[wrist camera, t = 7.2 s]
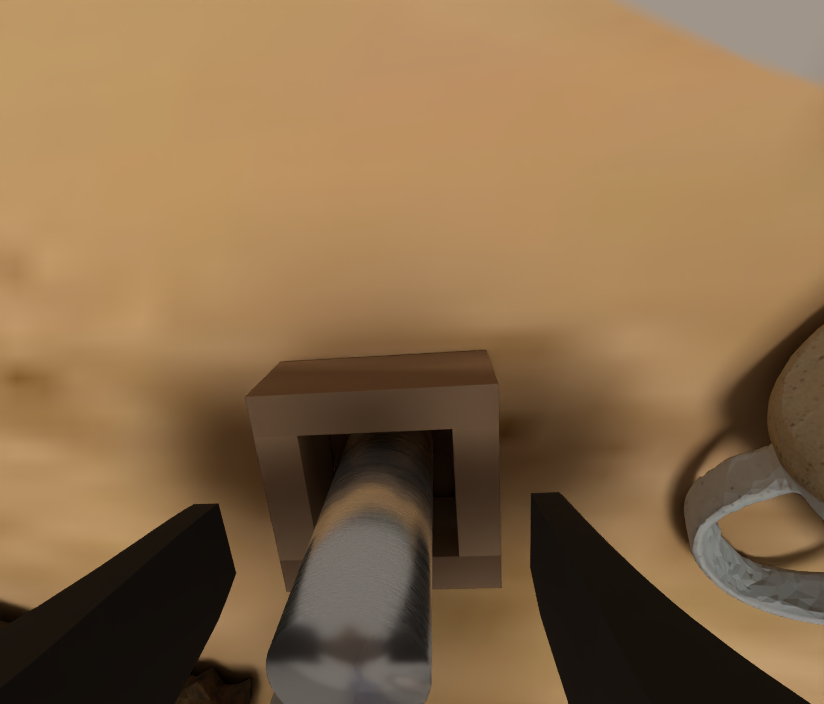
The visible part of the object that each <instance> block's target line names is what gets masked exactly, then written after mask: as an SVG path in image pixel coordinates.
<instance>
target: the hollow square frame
mask: <svg viewBox="0 0 824 704" xmlns="http://www.w3.org/2000/svg"><path fill="white" fill-rule="evenodd" d="M245 400H246V405H247V410H248V414H249V419H250V424H251V428H252V433H253V438H254V442H255V447H256V451H257V456H258V461H259V465H260V470H261V475H262V479H263V484H264V489H265V493H266V498H267V503H268V507H269V512H270V517H271V521H272V526H273V530H274V535H275V540H276V544H277V549H278V554H279V558H280V563H281V568H282V572H283V577H284V582H285V586H286V591H287V592H291V590H292V587H293V585H294V582H295V579H296V577H297V574H298V571H299V569H300V566H301V564H302V561H303V558H304V556H305V553H306V550H307V548H308V545H309V542H310V540H311V537H312V534H313V532H314V529H315V526H316V524H317V521H318V519H319V516H320V513H321V511H322V508H323V505H324V503H325V500H326V497H327V495H328V492H329V489H330V487H331V484H332V482H333V479H334V476H335V473H334V467H333V460H332V454H331V447H330V441H329V434H349V433H372V432H394V431H417V430H439V429H451V430H452V449H453V467H454V485H455V497H440V498H433V528H432V589H469V588H502V581H501V520H500V459H499V398H498V382H497V379H496V376H495V374H494V371H493V368H492V365H491V363H490V360H489V357H488V354H487V351H486V350H480V351H463V352H445V353H428V354H410V355H393V356H375V357H358V358H341V359H323V360H306V361H288V362H280V363H279V364H278V365H277V366H276V367H275V368H274V369H273V370H272V371H271V372H270V373H269V374H268V375H267V376H266V377H265V378H264V379H263V380H262V381H260V382H259V383H258V384H257V385H256V386H255V387H254V388H253V389H252V390H251V391H250V392H249V393H248V394H247V395H246V396H245Z"/></svg>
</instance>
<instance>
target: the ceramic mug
mask: <svg viewBox="0 0 824 704" xmlns="http://www.w3.org/2000/svg"><path fill="white" fill-rule="evenodd" d="M767 427H768V433H769V437H770V440H771V442H772V443H771V444H770V445H769V446H764V447H762V448H760V449H758V450H754V451H747V452H745V453H742V454H739V455H736V456H733V457H730V458H728V459H726V460H724V461H723V462H721V463H720V464H719V465H717V466H716V467H715V468H713V469H711V470H709V471H708V472H707V473H706V474H705V475H704V476H703V477H699V478H698V479H697V480H696V481H695V482H694V484H693V485H692V487H691V488H690V489H689V491H688V493H687V495H686V497H685V503H684V517H685V523H686V529H687V533H688V538H689V544H690V550H691V552H692V554H693V556H694V559H695V561H696V562H697V564H698V565H699V567H700V568H701V570H702V571H703V572H704V573H705V574H706V576H707V577H708V578H709V579H710V580H712V581H713V582H714V583H715V584H716V585H717V586H718V587H719V588H721V589H722V590H723V591H725V592H726V593H727V594H729V595H731V596H732V597H734V598H736V599H738V600H740V601H742V602H744V603H746V604H748V605H750V606H753V607H755V608H757V609H760V610H763V611H765V612H768V613H771V614H774V615H778V616H782V617H785V618H789V619H793V620H799V621H804V622H809V623H814V624H820V625H824V572H807V571H795V570H788V569H782V568H777V567H773V566H769V565H761V564H758V563H755V562H752V561H751V560H750V559H748V558H745V557H742V556H741V555H740V554H738V553H737V552H736V551H735V550H734V549H733V548H732V546H731V545H730V544H729V543H728V542H727V541H726V540H725V539H724V538H723V537H722V536H721V530H720V528H719V525H718V523H717V521H719V520H720V519H721V518H723V517H724V516H725V515H727V514H729V513H732V512H735V511H738V510H740V509H741V508H743V507H745V506H748V505H750V504H753V503H755V502H761V501H766V500H769V499H771V498H774V497H777V496H780V495H783V494H788V493H798V494H801V495H802V496H803V498H804V499H805V500H806V501H807V502H808V503H809V505H810V506H811V507H812V508H813V509H814V511H815V512H816V513H817V514H818V515H819V516H820V517H821V518H822V519H823V520H824V324H823V325H822V326H821V327H819V328H818V329H817V330H816V331H815V332H814V333H813V334H812V335H811V336H810V337H809V338H808V339H807V340H806V341H805V342H804V343H803V344H802V345H801V346H800V347H799V348H798V349H797V350H796V351H795V352H794V353H793V355H792V356H791V357H790V359H789V361H788V362H787V364H786V365H785V367H784V369H783V370H782V372H781V374H780V375H779V377H778V378H777V380H776V382H775V385H774V387H773V390H772V392H771V395H770V398H769V402H768V413H767Z"/></svg>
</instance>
